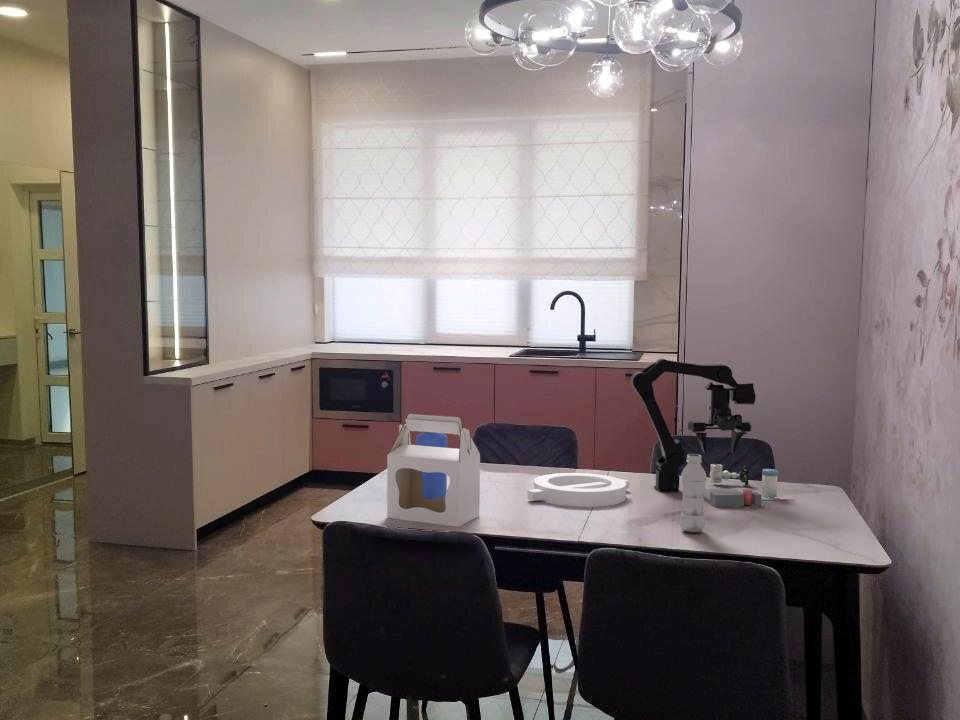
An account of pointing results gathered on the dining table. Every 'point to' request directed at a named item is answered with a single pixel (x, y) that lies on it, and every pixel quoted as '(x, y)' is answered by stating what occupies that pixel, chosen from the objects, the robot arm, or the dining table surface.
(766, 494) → the cartridge
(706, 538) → the dining table surface
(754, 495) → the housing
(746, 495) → the plunger button
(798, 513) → the dining table surface
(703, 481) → the plastic bottle
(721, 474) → the valve
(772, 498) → the mat
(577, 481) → the white circle with bar
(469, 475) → the gable box
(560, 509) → the dining table surface
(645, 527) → the dining table surface
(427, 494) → the water bottle
